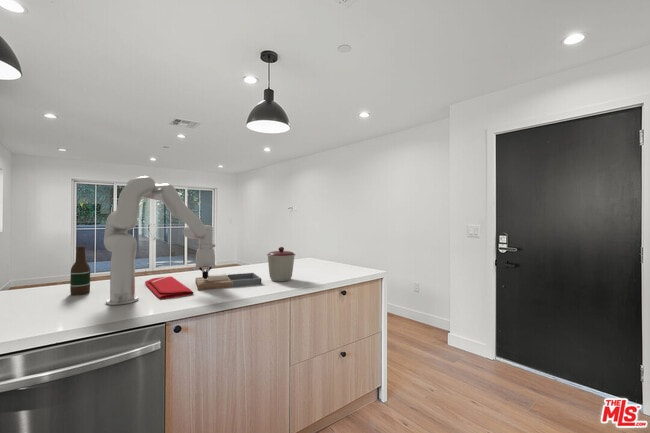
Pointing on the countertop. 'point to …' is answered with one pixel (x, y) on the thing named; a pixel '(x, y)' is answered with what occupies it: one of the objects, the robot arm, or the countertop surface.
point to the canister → (280, 265)
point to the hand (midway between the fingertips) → (205, 278)
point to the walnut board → (212, 283)
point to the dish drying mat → (167, 287)
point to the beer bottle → (80, 274)
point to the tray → (244, 279)
